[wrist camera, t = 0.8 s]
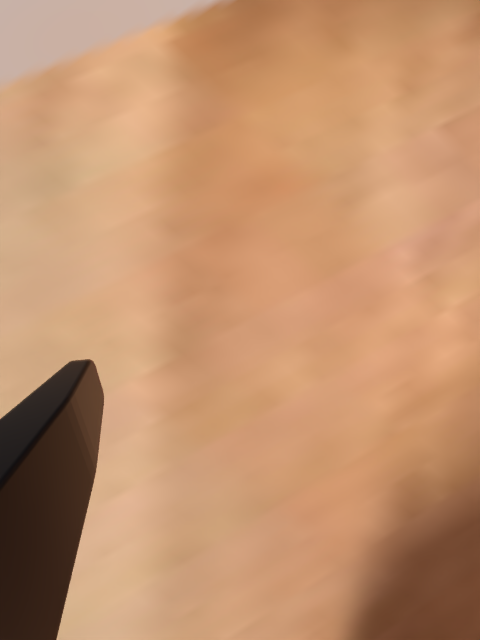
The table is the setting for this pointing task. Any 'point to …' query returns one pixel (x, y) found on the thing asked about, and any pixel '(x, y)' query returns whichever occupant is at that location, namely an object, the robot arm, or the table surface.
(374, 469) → the table surface
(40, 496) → the robot arm
